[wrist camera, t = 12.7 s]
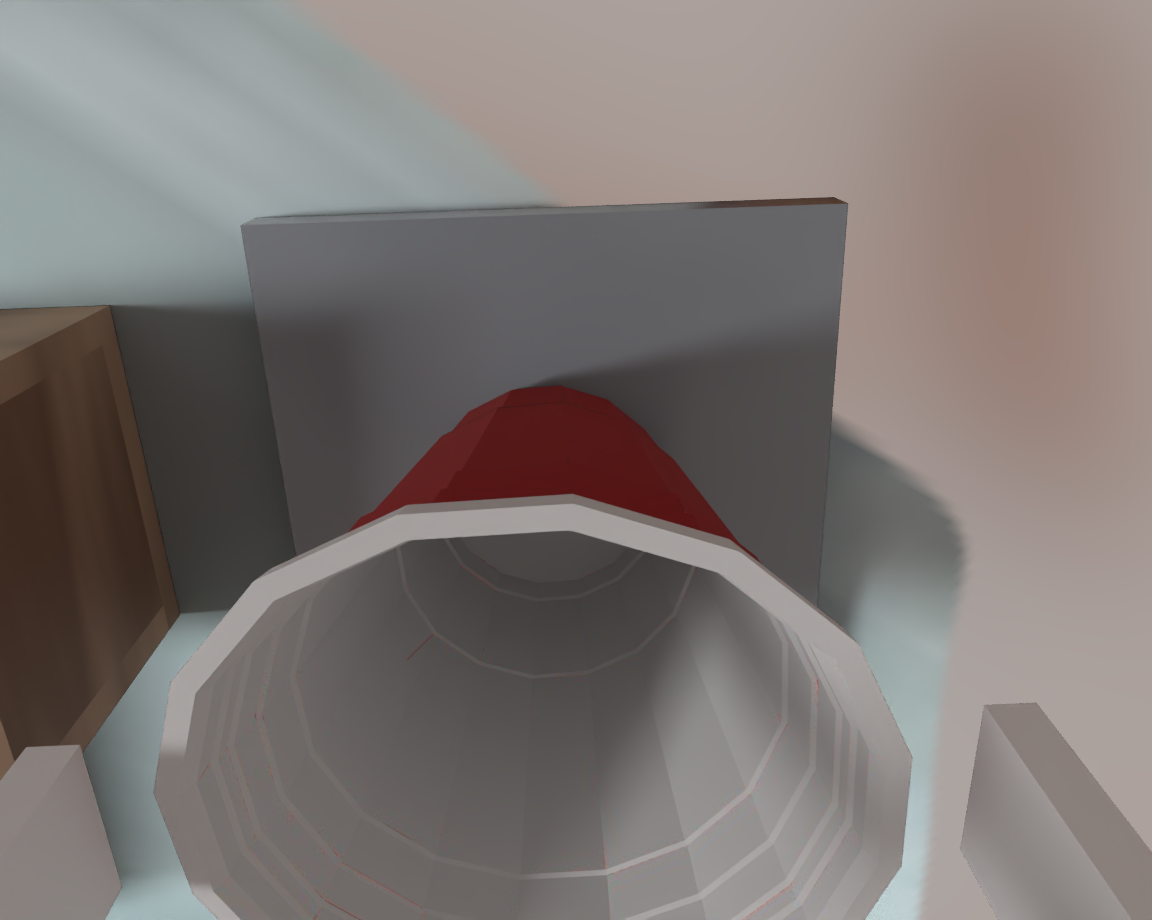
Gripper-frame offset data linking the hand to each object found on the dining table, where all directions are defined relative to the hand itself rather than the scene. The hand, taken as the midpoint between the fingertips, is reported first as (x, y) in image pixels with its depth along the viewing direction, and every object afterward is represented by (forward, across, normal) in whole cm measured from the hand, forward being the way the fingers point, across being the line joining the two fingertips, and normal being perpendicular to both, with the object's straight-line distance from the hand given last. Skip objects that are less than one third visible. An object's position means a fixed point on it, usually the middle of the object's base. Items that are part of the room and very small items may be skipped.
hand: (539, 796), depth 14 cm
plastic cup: (+11, 0, 0) cm, 11 cm away
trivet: (+12, 0, 0) cm, 12 cm away
